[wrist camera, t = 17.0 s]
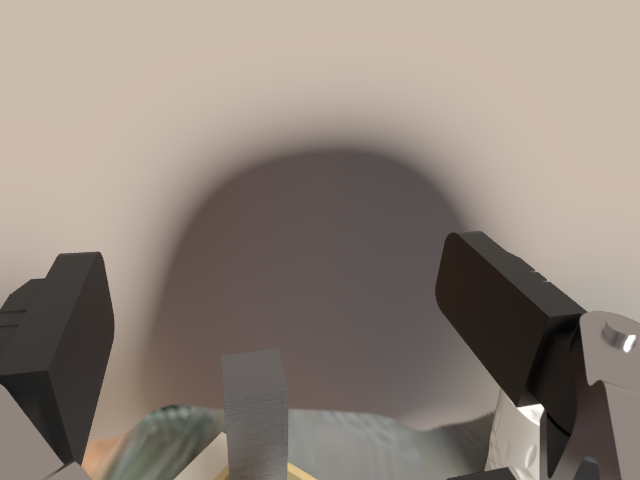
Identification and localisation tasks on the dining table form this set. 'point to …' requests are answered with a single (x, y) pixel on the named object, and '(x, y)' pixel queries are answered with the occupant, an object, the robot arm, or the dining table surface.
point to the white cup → (515, 439)
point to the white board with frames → (223, 464)
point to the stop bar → (256, 415)
